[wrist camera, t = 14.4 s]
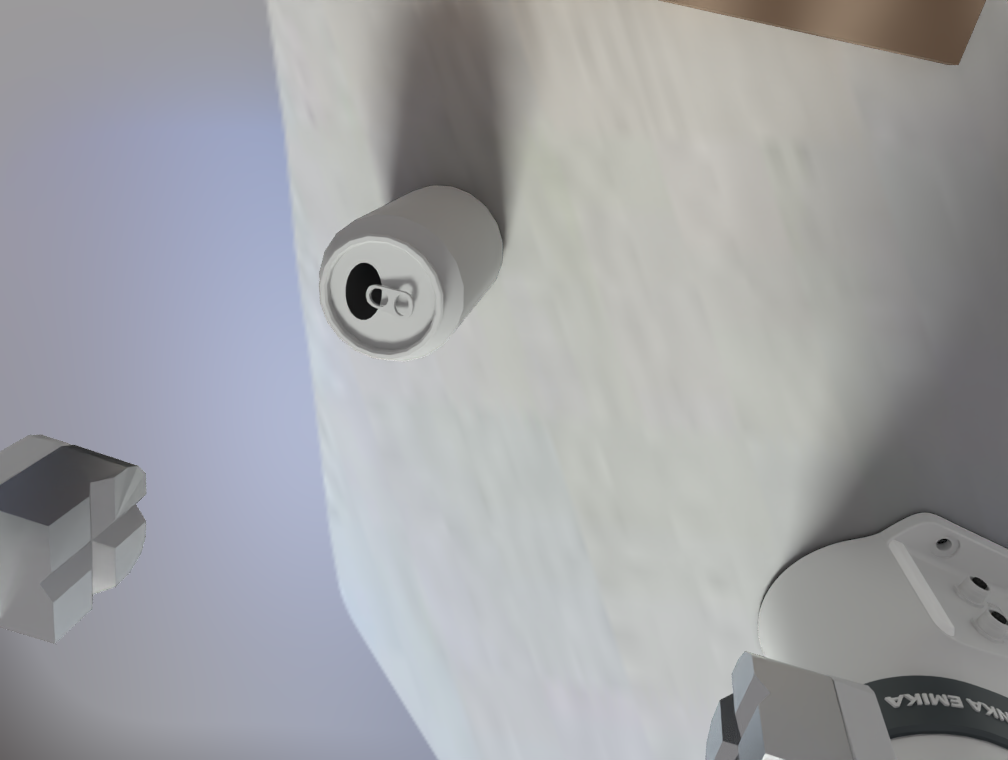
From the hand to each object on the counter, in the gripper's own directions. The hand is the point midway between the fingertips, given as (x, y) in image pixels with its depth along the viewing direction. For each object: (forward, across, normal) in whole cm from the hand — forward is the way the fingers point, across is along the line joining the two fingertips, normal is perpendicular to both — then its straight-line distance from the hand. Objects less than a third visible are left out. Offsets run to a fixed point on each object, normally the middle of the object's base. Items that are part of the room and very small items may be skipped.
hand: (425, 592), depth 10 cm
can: (+37, -9, -6) cm, 39 cm away
